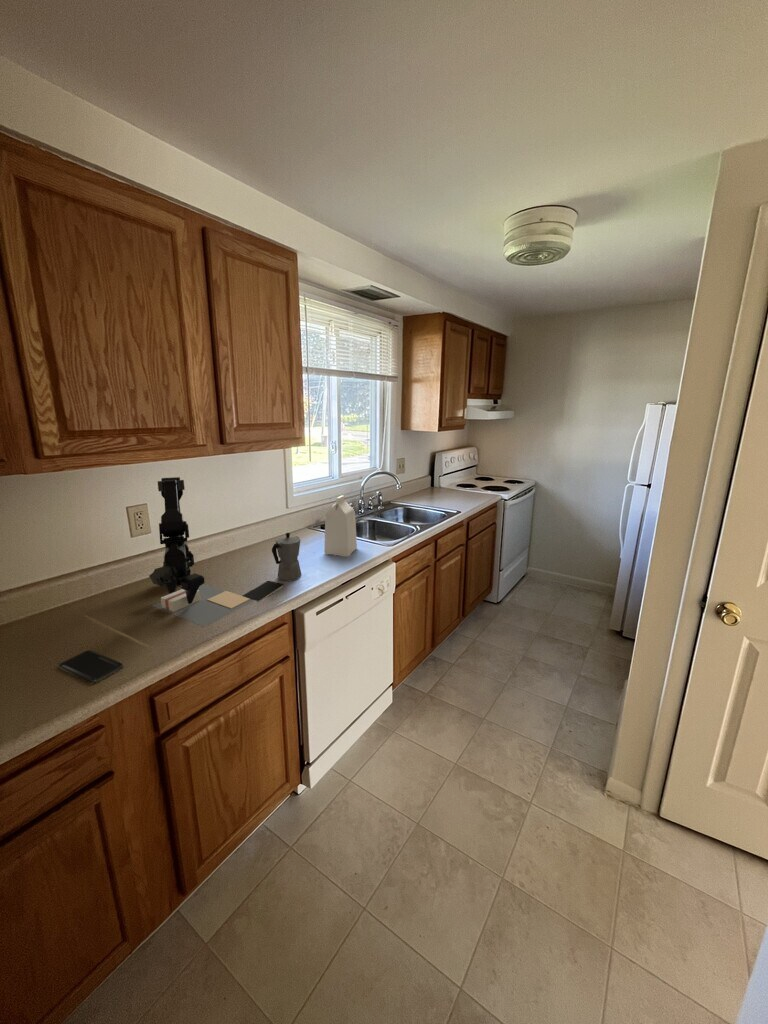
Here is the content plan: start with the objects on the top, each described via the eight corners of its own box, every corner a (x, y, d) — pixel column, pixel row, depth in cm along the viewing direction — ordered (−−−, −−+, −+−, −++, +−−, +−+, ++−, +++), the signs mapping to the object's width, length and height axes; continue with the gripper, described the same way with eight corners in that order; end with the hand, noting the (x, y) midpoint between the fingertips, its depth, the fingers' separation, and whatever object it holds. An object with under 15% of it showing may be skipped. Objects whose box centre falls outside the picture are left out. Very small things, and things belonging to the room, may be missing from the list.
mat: (151, 607, 136) (151, 604, 136) (204, 585, 153) (203, 583, 153) (204, 628, 124) (203, 626, 123) (254, 602, 140) (254, 600, 140)
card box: (173, 612, 132) (172, 602, 131) (161, 607, 135) (160, 597, 134) (200, 600, 140) (199, 590, 139) (189, 595, 143) (188, 586, 142)
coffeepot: (291, 568, 170) (289, 526, 166) (309, 573, 166) (308, 530, 162) (264, 582, 157) (262, 537, 152) (284, 587, 153) (281, 541, 148)
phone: (92, 682, 98) (56, 664, 104) (93, 686, 98) (57, 668, 104) (125, 664, 105) (89, 649, 111) (125, 668, 105) (90, 652, 111)
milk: (347, 556, 185) (347, 500, 178) (324, 554, 188) (323, 498, 181) (357, 548, 196) (357, 495, 190) (334, 545, 199) (333, 493, 193)
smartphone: (239, 596, 143) (267, 580, 157) (240, 599, 144) (267, 583, 157) (258, 601, 140) (284, 583, 154) (258, 604, 141) (285, 586, 154)
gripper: (134, 558, 131) (140, 603, 135) (171, 570, 122) (176, 617, 126) (167, 548, 140) (172, 590, 144) (203, 558, 132) (207, 603, 135)
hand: (181, 600), depth 137 cm, fingers open, 9 cm apart
